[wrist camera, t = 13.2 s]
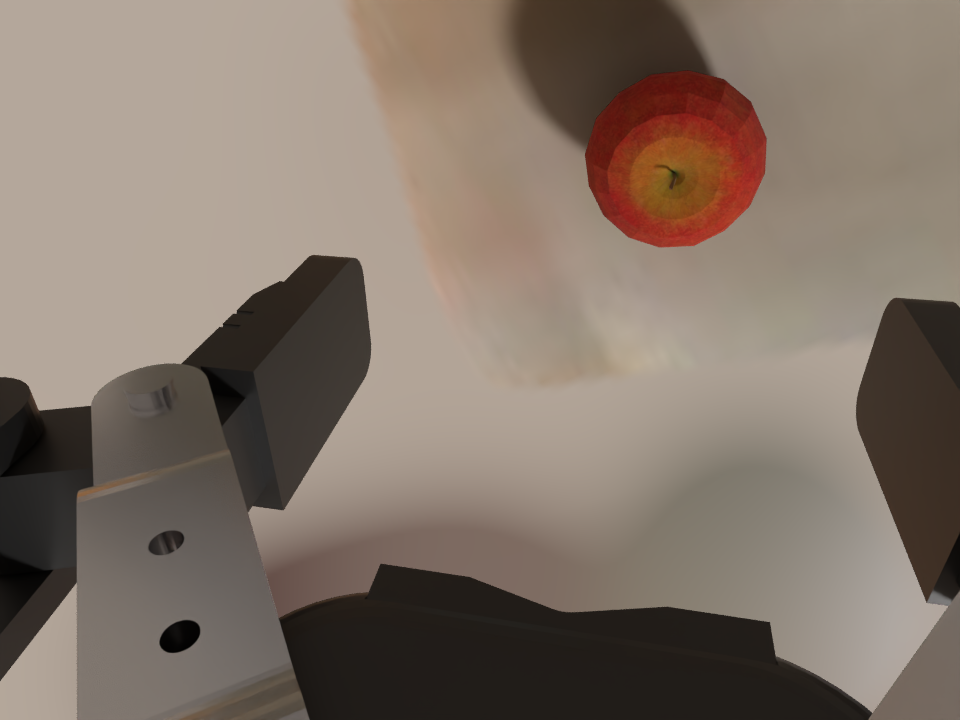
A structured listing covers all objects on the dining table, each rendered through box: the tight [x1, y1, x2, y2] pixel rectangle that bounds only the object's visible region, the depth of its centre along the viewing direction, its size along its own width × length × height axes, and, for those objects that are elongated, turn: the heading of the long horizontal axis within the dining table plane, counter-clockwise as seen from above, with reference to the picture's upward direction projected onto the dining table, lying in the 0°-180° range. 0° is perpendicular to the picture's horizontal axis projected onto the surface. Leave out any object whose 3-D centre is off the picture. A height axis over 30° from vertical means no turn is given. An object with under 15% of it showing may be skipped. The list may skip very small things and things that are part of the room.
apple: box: [585, 70, 766, 247], centre depth 33 cm, size 8×8×8 cm
